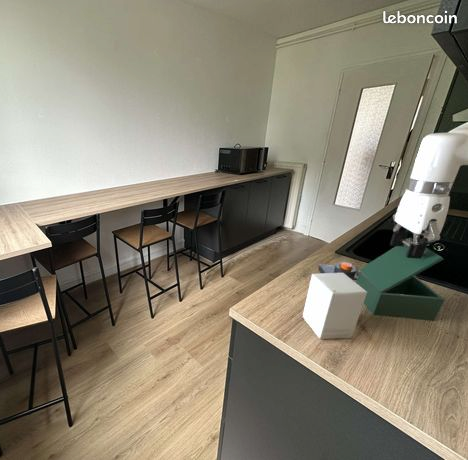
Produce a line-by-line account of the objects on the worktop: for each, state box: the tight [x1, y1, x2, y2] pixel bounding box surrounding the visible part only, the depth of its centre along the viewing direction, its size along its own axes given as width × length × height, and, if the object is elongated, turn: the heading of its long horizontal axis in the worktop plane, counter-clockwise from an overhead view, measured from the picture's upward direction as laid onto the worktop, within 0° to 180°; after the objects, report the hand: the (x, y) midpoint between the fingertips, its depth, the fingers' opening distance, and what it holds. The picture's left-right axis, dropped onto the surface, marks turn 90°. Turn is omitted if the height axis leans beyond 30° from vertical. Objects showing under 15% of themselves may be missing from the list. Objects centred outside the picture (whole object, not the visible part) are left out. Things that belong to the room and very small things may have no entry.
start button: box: [340, 261, 353, 270], centre depth 90 cm, size 3×3×2 cm
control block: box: [317, 262, 358, 281], centre depth 91 cm, size 10×8×4 cm
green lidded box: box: [355, 270, 445, 322], centre depth 74 cm, size 15×12×9 cm
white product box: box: [302, 273, 367, 340], centre depth 67 cm, size 9×9×15 cm
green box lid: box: [359, 237, 444, 294], centre depth 70 cm, size 15×12×5 cm
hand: (404, 250), depth 68 cm, fingers closed on green box lid, 6 cm apart
